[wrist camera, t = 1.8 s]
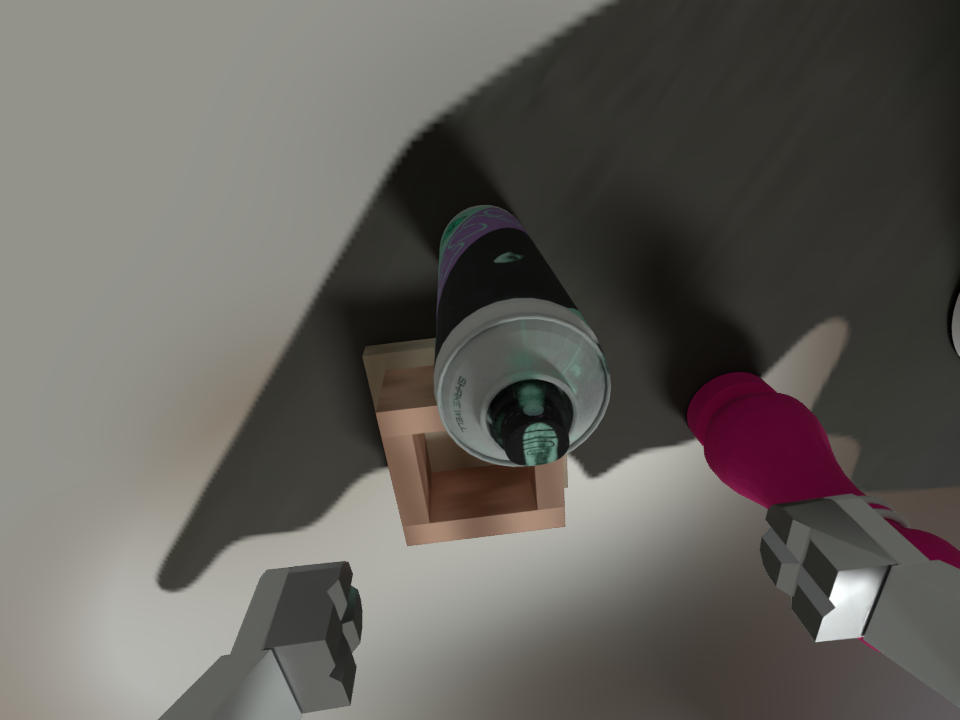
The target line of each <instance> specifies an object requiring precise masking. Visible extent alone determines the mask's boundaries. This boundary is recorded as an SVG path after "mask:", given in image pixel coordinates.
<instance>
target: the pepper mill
mask: <svg viewBox="0 0 960 720" xmlns="http://www.w3.org/2000/svg"><path fill="white" fill-rule="evenodd" d="M687 421H688V426H689V428H690V430H691V431H692V433H693V434H694V435H695V437H696V438H697V439H698V441H699V442H700V443H701V444H702V445H703V446H704V455H705V458H706V461H707V463H708V465H709V467H710V468H711V469H712V471H713V472H714V473H715V474H716V475H717V476H718V477H719V478H720V480H721V481H722V482H723V483H725V484H726V485H728V486H729V487H730V488H732V489H733V490H734V491H735V492H737V493H738V494H740V495H742V496H744V497H746V498H748V499H750V500H752V501H754V502H756V503H758V504H760V505H762V506H764V507H765V508H767V509H769V508H770V507H771V506H772V505H773V504H779V503H786V502H793V501H800V500H807V499H814V498H824V497H830V496H837V495H844V494H854V495H856V496H858V497H860V498H862V499H863V500H864V501H865V502H866V503H867V504H868V505H869V506H870V507H872V508H873V509H874V510H875V511H876V512H877V513H878V514H879V515H880V516H881V517H883V518H884V519H885V520H886V521H887V522H888V523H889V524H890V525H891V526H892V527H894V528H895V529H896V530H897V531H898V532H899V533H900V534H901V535H902V536H904V537H905V538H906V539H907V540H908V541H909V542H910V543H911V544H912V545H913V546H915V547H916V548H917V549H918V550H919V551H920V552H921V553H922V554H923V555H924V556H926V557H927V558H928V559H929V560H930V561H932V560H940V561H943V562H945V563H947V564H949V565H951V566H954V567H956V568H958V569H960V551H959V550H957V549H956V548H955V547H953V546H952V545H951V544H950V543H948V542H947V541H945V540H943V539H942V538H939V537H937V536H935V535H933V534H931V533H928V532H925V531H921V530H916V529H911V528H910V525H909V523H908V521H907V520H906V519H905V518H904V517H903V516H901V514H899V513H896V512H895V511H894V509H893V508H892V507H891V506H890V505H889V504H888V503H887V502H886V501H884V500H882V499H880V498H876V497H872V496H866V495H865V494H864V493H862V492H861V491H860V490H859V489H857V487H856V486H855V485H854V484H853V483H852V482H851V481H850V480H849V479H848V477H847V476H846V475H845V474H844V472H843V471H842V469H841V467H840V466H839V464H838V463H837V461H836V459H835V456H834V454H833V452H832V449H831V446H830V443H829V440H828V437H827V434H826V432H825V430H824V429H823V427H822V425H821V424H820V422H819V421H818V419H817V417H816V416H815V415H814V414H813V413H812V412H811V411H810V410H809V409H808V408H807V407H806V406H805V405H804V404H803V403H801V402H800V401H798V400H797V399H795V398H793V397H791V396H789V395H785V394H781V393H777V392H776V391H775V390H774V389H773V388H771V387H770V386H769V385H768V384H767V383H765V382H764V381H763V380H762V379H761V378H759V377H758V376H756V375H753V374H751V373H746V372H733V373H727V374H724V375H721V376H718V377H716V378H714V379H712V380H711V381H709V382H708V383H706V384H704V385H703V386H702V387H701V388H700V389H699V390H698V391H697V392H696V394H695V395H694V397H693V398H692V400H691V402H690V404H689V408H688V411H687ZM863 638H864V637H858V639H859V640H860V641H862V642H863V643H865V644H866V645H868V646H869V647H870V648H872V649H874V650H876V651H878V650H877V649H876V648H874V647H873V646H871V645H870V644H869V643H867V642H866V641H864V640H863ZM878 652H880V651H878Z"/></svg>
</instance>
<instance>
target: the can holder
mask: <svg viewBox="0 0 960 720" xmlns="http://www.w3.org/2000/svg"><path fill="white" fill-rule="evenodd" d="M362 357H363V361H364V366H365V370H366V374H367V378H368V382H369V387H370V391H371V395H372V399H373V403H374V408H375V412H376V416H377V421H378V425H379V429H380V433H381V438H382V442H383V446H384V450H385V454H386V459H387V463H388V467H389V471H390V475H391V480H392V484H393V488H394V492H395V496H396V501H397V504H398V509H399V513H400V518H401V522H402V526H403V530H404V534H405V538H406V543H407V546H412V545H421V544H428V543H436V542H445V541H452V540H461V539H469V538H478V537H485V536H494V535H502V534H510V533H517V532H526V531H535V530H543V529H551V528H558V527H565V501H564V488H567V487H568V477H567V454H565V455H564V456H563V457H561V458H560V459H558V460H556V461H554V462H551V463H548V464H543V465H536V466H516V467H512V466H504V465H497V464H493V463H490V462H487V461H483V460H481V459H479V458H477V457H475V456H473V455H471V454H469V453H468V452H466V451H465V450H464V449H463V448H461V447H460V446H459V445H457V443H456V442H455V441H454V440H453V439H452V438H451V437H450V435H449V434H448V433H447V431H446V429H445V427H444V425H443V424H442V422H441V419H440V415H439V412H438V408H437V402H436V398H435V395H434V358H435V338H431V339H422V340H414V341H405V342H397V343H389V344H380V345H372V346H366V347H365V350H364V353H363V356H362Z"/></svg>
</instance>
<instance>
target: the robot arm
mask: <svg viewBox="0 0 960 720" xmlns="http://www.w3.org/2000/svg"><path fill="white" fill-rule="evenodd" d="M952 338H953V343H954V346H955V349H956V351H957V353H958V355H959V356H960V293H959V296H958V299H957V302H956V305H955V309H954V313H953V319H952ZM765 520H766V521H767V522H768V524H769V525H770V526H771V528H770V529H769V530H768V531H767V532H766V533H765V534H764V535H763V536H762V537H761V544H760V554H761V558H762V563H763V566H764V568H765V570H766V572H767V574H768V576H769V577H770V579H771V580H772V582H773V583H774V585H775V586H776V587H777V588H779V589H781V590H782V591H784V592H785V593H787V594H788V595H790V596H792V599H791V609H792V610H793V612H794V613H795V614H796V616H797V617H798V619H799V620H800V621H801V623H802V624H803V626H804V627H805V628H806V630H807V631H808V632H809V634H810V635H811V637H812V638H813V639H814V641H815V642H820V641H829V640H839V639H848V638H858V637H864V638H863V640H864V641H866V642H867V643H869V644H870V645H871V646H873V647H874V648H876V649H877V650H878V651H880V652H881V653H883V654H884V655H886V656H887V657H888V658H890V659H891V660H893V661H894V662H895V663H897V664H898V665H900V666H901V667H902V668H904V669H905V670H907V671H908V672H910V673H911V674H912V675H914V676H915V677H917V678H918V679H919V680H921V681H922V682H924V683H925V684H927V685H928V686H929V687H931V688H932V689H934V690H935V691H937V692H938V693H939V694H941V695H942V696H943V697H945V698H946V699H948V700H949V701H951V702H952V703H953V704H955V705H956V706H958V707H959V708H960V569H958V568H956V567H954V566H951V565H949V564H947V563H945V562H943V561H940V560H932V561H930V560H929V559H928V558H927V557H926V556H924V555H923V554H922V553H921V552H920V551H919V550H918V549H917V548H916V547H915V546H913V545H912V544H911V543H910V542H909V541H908V540H907V539H906V538H905V537H904V536H902V535H901V534H900V533H899V532H898V531H897V530H896V529H895V528H894V527H892V526H891V525H890V524H889V523H888V522H887V521H886V520H885V519H884V518H883V517H881V516H880V515H879V514H878V513H877V512H876V511H875V510H874V509H873V508H872V507H870V506H869V505H868V504H867V503H866V502H865V501H864V500H863V499H862V498H860V497H858V496H856V495H854V494H844V495H837V496H830V497H824V498H814V499H807V500H800V501H793V502H786V503H779V504H773V505H772V506H771V507H770V508H769V509H768V510H767V515H766V519H765ZM352 576H353V573H352V570H351V567H350V564H349V562H346V561H342V562H333V563H323V564H313V565H304V566H294V567H288V568H279V569H270V570H266V572H265V573H264V574H263V575H262V576H261V578H260V579H259V582H258V585H257V587H256V590H255V592H254V595H253V598H252V600H251V602H250V605H249V608H248V610H247V613H246V615H245V618H244V620H243V623H242V625H241V628H240V630H239V633H238V636H237V638H236V641H235V643H234V646H233V648H232V651H231V654H230V655H224V656H221V657H220V658H219V659H218V660H217V661H216V662H215V663H214V664H213V665H212V666H211V667H210V668H209V669H208V670H207V671H206V672H205V673H204V674H203V675H202V676H201V677H200V678H199V679H198V680H197V681H196V682H195V683H194V684H193V685H192V686H191V687H190V688H189V689H188V690H187V691H186V692H185V693H184V694H183V695H182V696H181V697H180V698H179V699H178V700H177V701H176V702H175V703H174V704H173V705H172V706H171V707H170V708H169V709H168V710H167V711H166V712H165V713H164V714H163V715H162V716H161V717H160V718H159V719H158V720H301V718H302V713H308V712H314V711H320V710H326V709H332V708H338V707H344V706H350V705H351V699H352V693H353V686H354V680H355V673H356V664H355V661H354V658H353V655H352V653H353V651H354V650H355V649H356V648H357V646H358V645H359V644H360V640H361V633H362V604H361V598H360V595H359V592H358V590H357V589H356V588H354V587H353V586H351V582H352Z"/></svg>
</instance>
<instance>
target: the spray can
mask: <svg viewBox="0 0 960 720" xmlns="http://www.w3.org/2000/svg"><path fill="white" fill-rule="evenodd" d="M610 391H611V381H610V372H609V369H608V366H607V362H606V359H605V356H604V353H603V350H602V347H601V345H600V343H599V341H598V340H597V338H596V336H595V335H594V333H593V331H592V330H591V328H590V327H589V325H588V324H587V322H586V321H585V319H584V318H583V316H582V315H581V313H580V312H579V310H578V309H577V307H576V306H575V304H574V303H573V301H572V300H571V298H570V297H569V295H568V294H567V292H566V291H565V289H564V288H563V286H562V285H561V283H560V282H559V280H558V279H557V277H556V276H555V274H554V273H553V271H552V270H551V268H550V267H549V265H548V264H547V262H546V261H545V259H544V258H543V256H542V255H541V253H540V252H539V250H538V249H537V247H536V246H535V244H534V243H533V241H532V240H531V238H530V237H529V235H528V234H527V232H526V231H525V229H524V228H523V226H522V225H521V223H520V222H519V221H518V220H517V219H516V218H515V217H514V216H513V215H512V214H510V213H509V212H508V211H506V210H504V209H502V208H499V207H497V206H492V205H478V206H473V207H470V208H467V209H465V210H463V211H461V212H460V213H459V214H457V215H456V216H455V217H454V218H453V219H452V220H451V221H450V222H449V224H448V225H447V227H446V228H445V230H444V233H443V235H442V238H441V243H440V250H439V272H438V294H437V315H436V337H435V358H434V395H435V398H436V402H437V408H438V412H439V415H440V419H441V422H442V424H443V425H444V427H445V429H446V431H447V433H448V434H449V435H450V437H451V438H452V439H453V440H454V441H455V442H456V443H457V445H459V446H460V447H461V448H463V449H464V450H465V451H466V452H468V453H469V454H471V455H473V456H475V457H477V458H479V459H481V460H483V461H487V462H490V463H493V464H497V465H504V466H512V467H516V466H536V465H543V464H548V463H551V462H554V461H556V460H558V459H560V458H561V457H563V456H564V455H565V454H567V453H568V452H570V451H572V450H574V449H575V448H576V447H577V446H579V445H580V444H581V443H583V442H584V441H585V440H586V439H587V438H588V437H589V436H590V435H591V434H592V432H593V431H594V430H595V429H596V428H597V426H598V424H599V423H600V421H601V419H602V418H603V416H604V414H605V411H606V408H607V406H608V403H609V398H610Z"/></svg>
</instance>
